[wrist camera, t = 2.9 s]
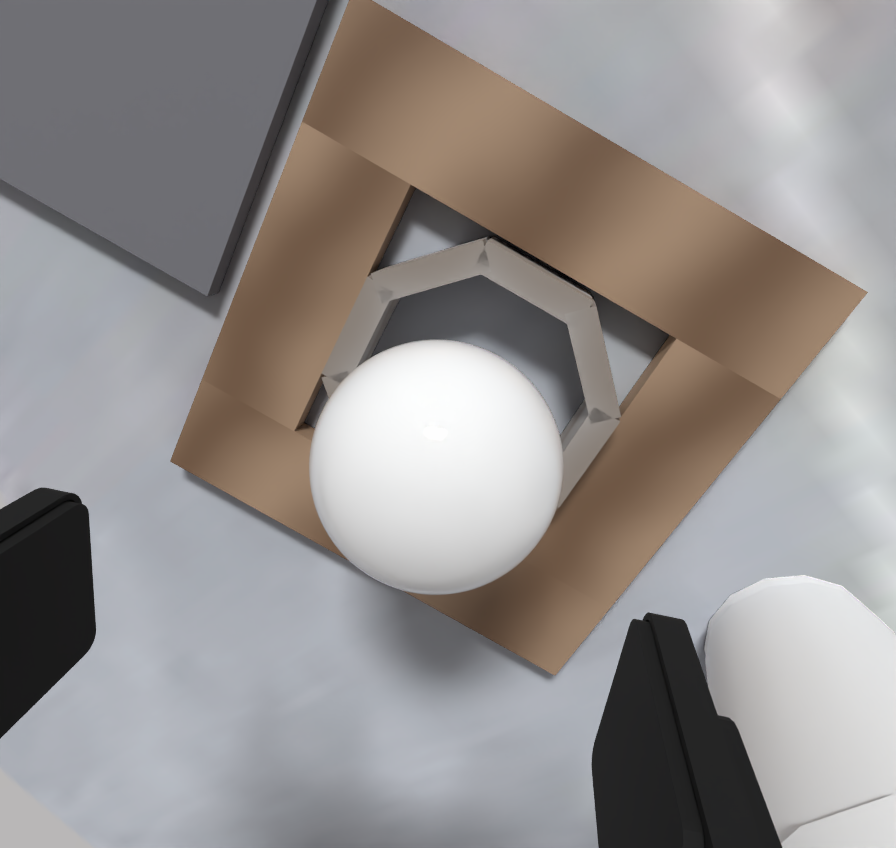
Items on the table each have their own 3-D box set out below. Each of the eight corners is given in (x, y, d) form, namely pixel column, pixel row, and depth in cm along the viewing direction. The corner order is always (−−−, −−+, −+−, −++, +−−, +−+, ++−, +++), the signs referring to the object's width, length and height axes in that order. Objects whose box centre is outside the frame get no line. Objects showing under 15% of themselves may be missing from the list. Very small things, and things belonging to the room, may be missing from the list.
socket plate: (853, 288, 20) (883, 297, 18) (555, 658, 27) (555, 693, 25) (362, -2, 20) (342, -21, 18) (183, 452, 26) (155, 471, 24)
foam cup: (848, 495, 22) (1187, 842, 10) (968, 677, 24) (1382, 1159, 12) (618, 612, 26) (675, 983, 14) (739, 766, 27) (885, 1219, 15)
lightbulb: (476, 255, 22) (405, 310, 11) (598, 386, 23) (633, 544, 12) (356, 375, 24) (208, 510, 14) (472, 490, 25) (413, 697, 15)
